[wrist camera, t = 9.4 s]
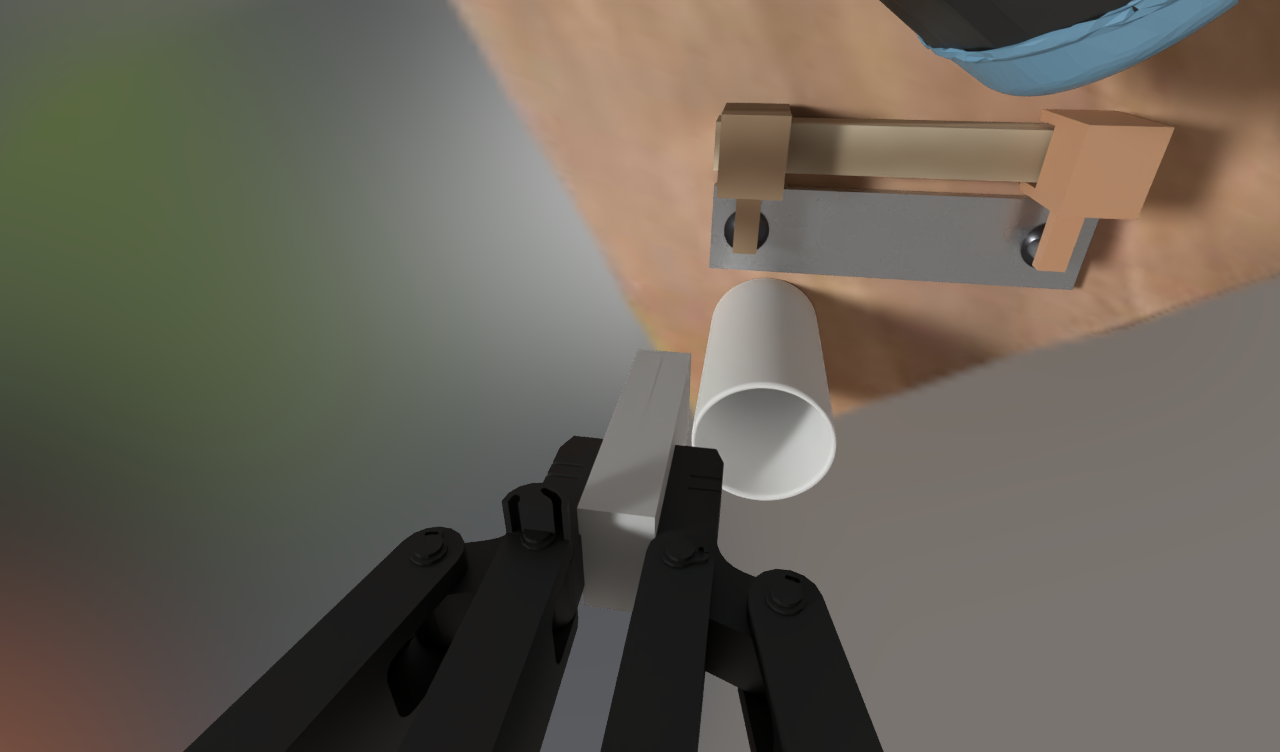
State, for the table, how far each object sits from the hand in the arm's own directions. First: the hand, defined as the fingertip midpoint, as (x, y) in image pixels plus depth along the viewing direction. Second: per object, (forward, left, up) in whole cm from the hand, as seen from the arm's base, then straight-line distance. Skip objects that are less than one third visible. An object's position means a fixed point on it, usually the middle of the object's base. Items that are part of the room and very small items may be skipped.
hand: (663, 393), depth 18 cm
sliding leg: (0, +21, -30) cm, 36 cm away
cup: (+12, +4, -31) cm, 33 cm away
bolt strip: (+4, +12, -30) cm, 33 cm away
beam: (-2, +12, -30) cm, 33 cm away
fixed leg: (0, +2, -30) cm, 30 cm away
